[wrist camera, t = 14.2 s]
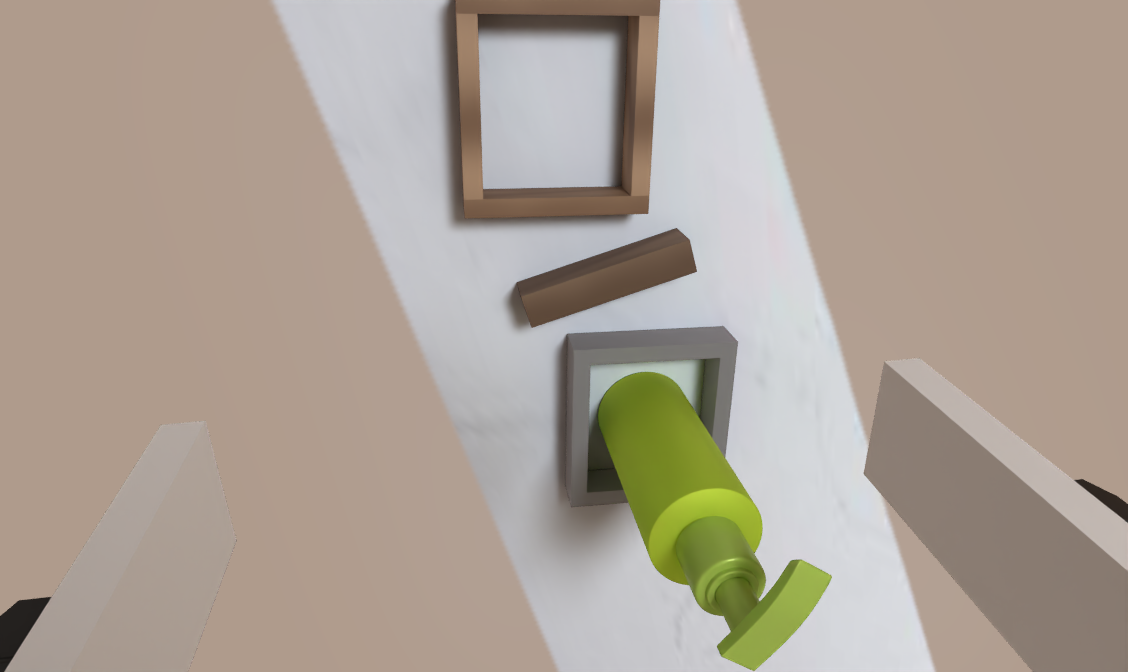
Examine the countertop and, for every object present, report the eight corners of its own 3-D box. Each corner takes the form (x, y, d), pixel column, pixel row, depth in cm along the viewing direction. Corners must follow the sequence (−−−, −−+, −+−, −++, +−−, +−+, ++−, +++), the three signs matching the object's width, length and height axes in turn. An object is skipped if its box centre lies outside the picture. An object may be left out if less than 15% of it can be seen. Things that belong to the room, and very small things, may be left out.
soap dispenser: (712, 385, 49) (872, 602, 31) (650, 464, 51) (766, 714, 33) (643, 343, 47) (769, 548, 29) (580, 426, 49) (662, 670, 31)
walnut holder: (454, -9, 38) (455, -10, 36) (647, -5, 39) (660, -7, 37) (463, 207, 42) (464, 218, 40) (637, 203, 44) (648, 213, 41)
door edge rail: (516, 282, 45) (520, 296, 42) (676, 228, 45) (689, 239, 42) (527, 312, 45) (531, 327, 43) (684, 258, 46) (697, 271, 43)
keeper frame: (567, 333, 46) (573, 350, 44) (723, 326, 48) (737, 341, 45) (565, 484, 51) (571, 507, 48) (708, 474, 52) (721, 495, 50)
